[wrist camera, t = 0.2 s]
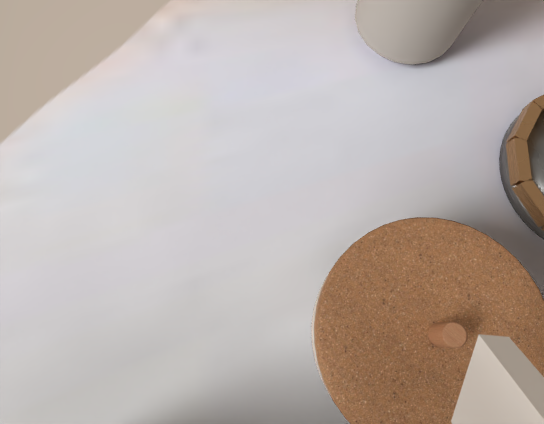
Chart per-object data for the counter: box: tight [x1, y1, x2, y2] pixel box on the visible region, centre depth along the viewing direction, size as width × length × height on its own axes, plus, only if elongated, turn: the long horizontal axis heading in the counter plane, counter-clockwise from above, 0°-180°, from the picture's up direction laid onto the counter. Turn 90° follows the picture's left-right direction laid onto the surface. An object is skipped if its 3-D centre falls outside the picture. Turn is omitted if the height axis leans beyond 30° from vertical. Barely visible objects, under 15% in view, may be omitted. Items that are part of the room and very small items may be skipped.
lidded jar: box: [311, 217, 544, 424], centre depth 22 cm, size 11×11×9 cm
